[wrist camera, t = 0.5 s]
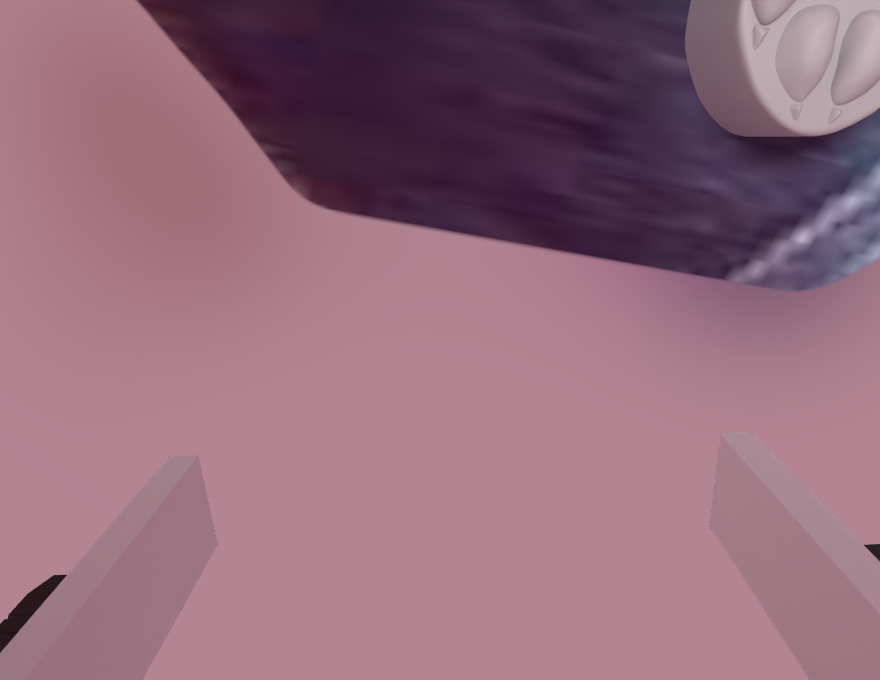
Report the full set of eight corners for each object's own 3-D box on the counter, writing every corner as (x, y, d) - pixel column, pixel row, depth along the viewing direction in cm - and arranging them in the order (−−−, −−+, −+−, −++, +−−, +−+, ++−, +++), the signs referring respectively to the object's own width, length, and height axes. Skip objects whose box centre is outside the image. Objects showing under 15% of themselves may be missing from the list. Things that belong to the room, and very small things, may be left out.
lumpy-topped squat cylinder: (900, -96, 33) (1048, -172, 25) (824, 146, 37) (928, 149, 29) (718, -122, 33) (806, -207, 25) (661, 125, 37) (721, 122, 29)
